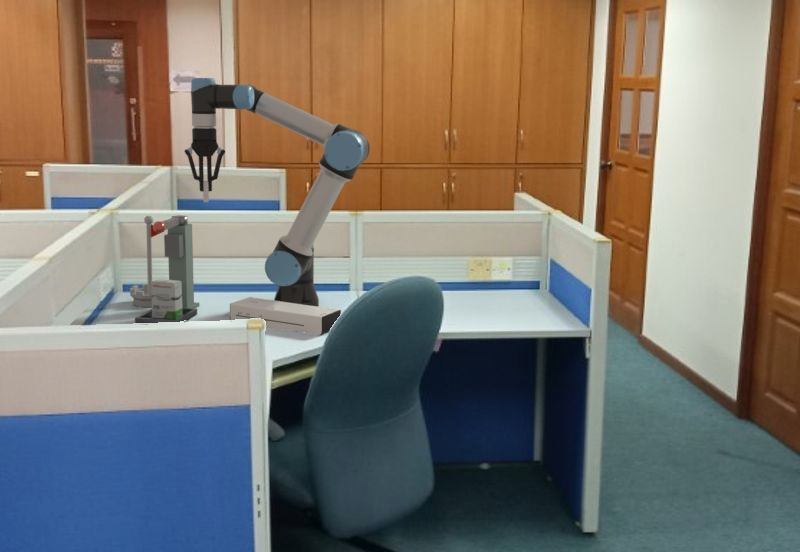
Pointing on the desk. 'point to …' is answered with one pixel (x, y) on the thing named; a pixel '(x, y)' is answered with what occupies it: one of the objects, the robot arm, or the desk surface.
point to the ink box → (166, 299)
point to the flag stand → (144, 294)
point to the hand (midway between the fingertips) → (206, 201)
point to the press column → (181, 261)
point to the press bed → (148, 318)
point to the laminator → (286, 315)
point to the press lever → (170, 223)
